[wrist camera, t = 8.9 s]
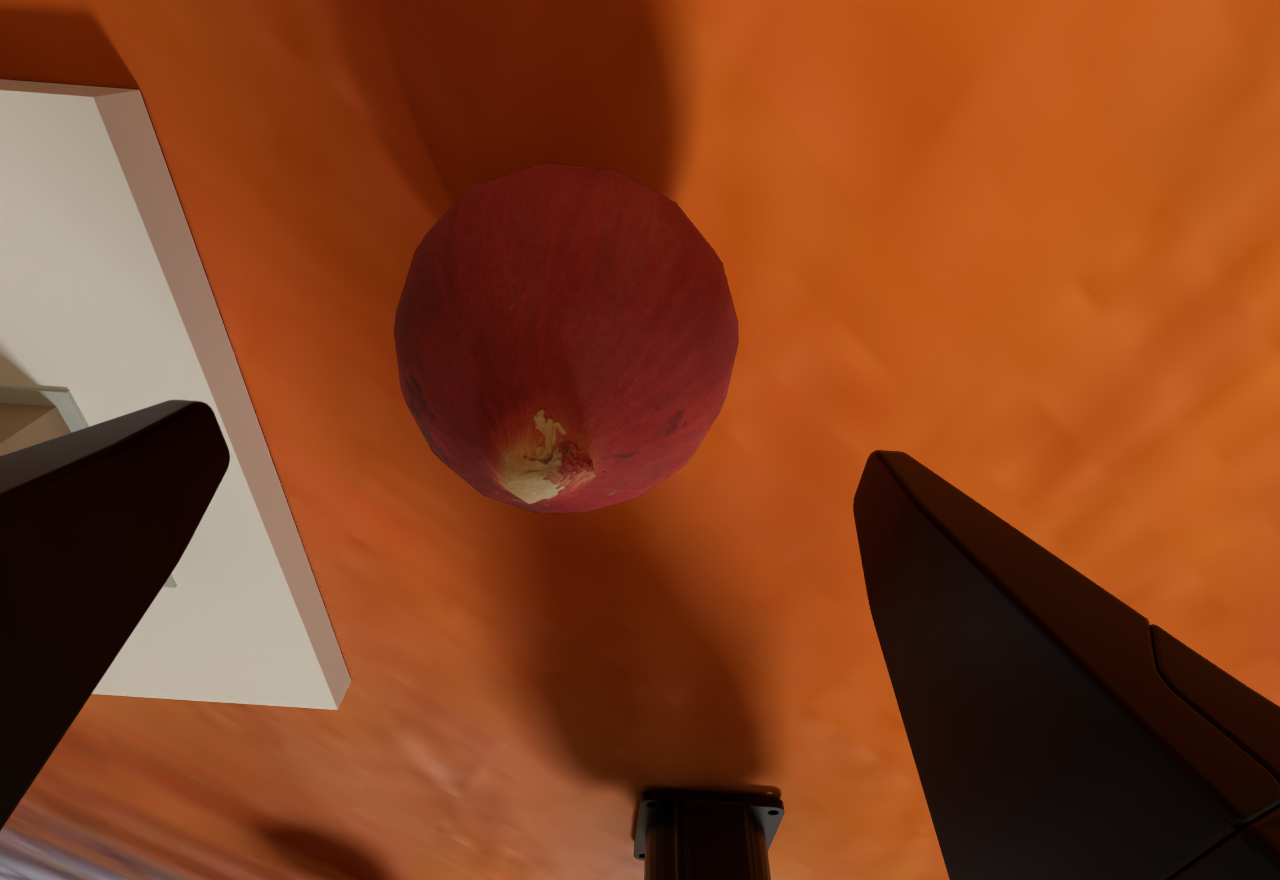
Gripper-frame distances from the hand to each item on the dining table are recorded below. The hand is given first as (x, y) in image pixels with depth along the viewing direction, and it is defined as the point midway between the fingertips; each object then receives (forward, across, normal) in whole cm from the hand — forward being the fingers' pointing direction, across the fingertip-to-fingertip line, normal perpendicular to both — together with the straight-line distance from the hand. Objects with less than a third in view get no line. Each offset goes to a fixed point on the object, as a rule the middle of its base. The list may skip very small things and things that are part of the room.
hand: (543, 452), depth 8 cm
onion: (+7, 0, 0) cm, 7 cm away
